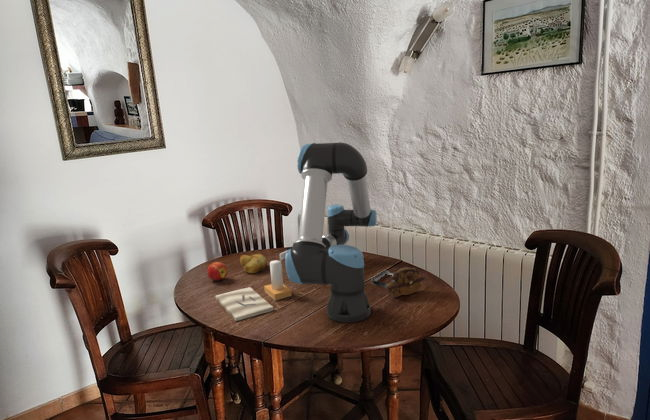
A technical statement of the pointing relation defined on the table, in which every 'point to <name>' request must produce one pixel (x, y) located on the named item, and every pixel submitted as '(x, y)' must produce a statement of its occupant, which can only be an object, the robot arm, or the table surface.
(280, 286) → the block
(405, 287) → the wooden carving
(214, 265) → the apple
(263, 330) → the table surface
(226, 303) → the plywood board
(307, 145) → the robot arm
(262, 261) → the bread roll
